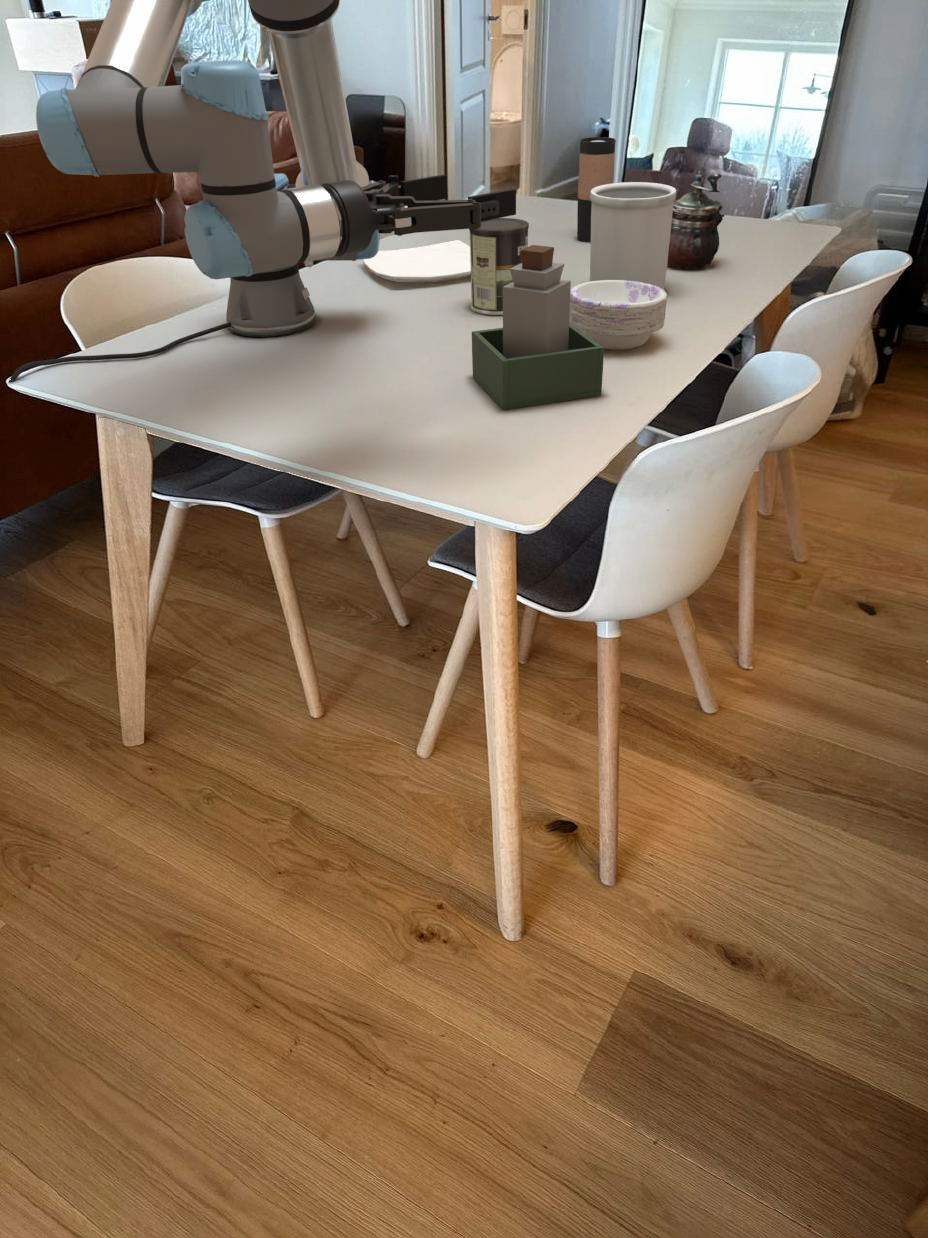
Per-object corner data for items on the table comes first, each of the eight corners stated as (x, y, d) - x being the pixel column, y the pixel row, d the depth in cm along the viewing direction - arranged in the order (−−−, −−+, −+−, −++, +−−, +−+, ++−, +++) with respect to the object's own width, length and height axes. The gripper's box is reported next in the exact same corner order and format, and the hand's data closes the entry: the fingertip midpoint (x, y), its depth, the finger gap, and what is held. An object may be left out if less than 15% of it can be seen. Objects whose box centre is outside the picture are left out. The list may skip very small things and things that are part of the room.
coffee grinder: (681, 279, 174) (692, 176, 164) (647, 261, 186) (655, 164, 176) (740, 272, 177) (754, 171, 167) (703, 255, 189) (714, 159, 178)
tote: (502, 410, 123) (502, 361, 119) (472, 377, 134) (471, 331, 130) (601, 395, 126) (604, 347, 122) (564, 364, 137) (565, 319, 133)
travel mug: (570, 236, 206) (574, 138, 195) (601, 233, 208) (606, 135, 196) (584, 243, 200) (588, 142, 189) (615, 240, 202) (622, 140, 190)
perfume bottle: (567, 377, 130) (572, 245, 120) (545, 392, 126) (548, 256, 115) (526, 369, 133) (527, 240, 123) (503, 384, 129) (502, 251, 118)
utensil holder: (629, 308, 160) (637, 200, 150) (569, 291, 169) (573, 189, 159) (683, 291, 167) (694, 188, 157) (623, 276, 177) (629, 178, 167)
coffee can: (531, 299, 166) (532, 217, 158) (523, 316, 157) (524, 230, 149) (476, 298, 168) (474, 216, 159) (465, 314, 159) (463, 229, 151)
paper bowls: (676, 333, 147) (681, 283, 143) (641, 362, 137) (646, 309, 132) (590, 321, 154) (592, 273, 149) (551, 348, 143) (552, 296, 139)
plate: (507, 277, 179) (507, 262, 178) (389, 293, 172) (388, 278, 171) (461, 250, 198) (461, 238, 196) (354, 264, 191) (352, 251, 189)
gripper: (279, 238, 110) (421, 211, 120) (392, 278, 94) (545, 243, 104) (269, 170, 106) (417, 148, 116) (386, 200, 89) (547, 171, 100)
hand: (478, 193), depth 110 cm, fingers open, 13 cm apart
